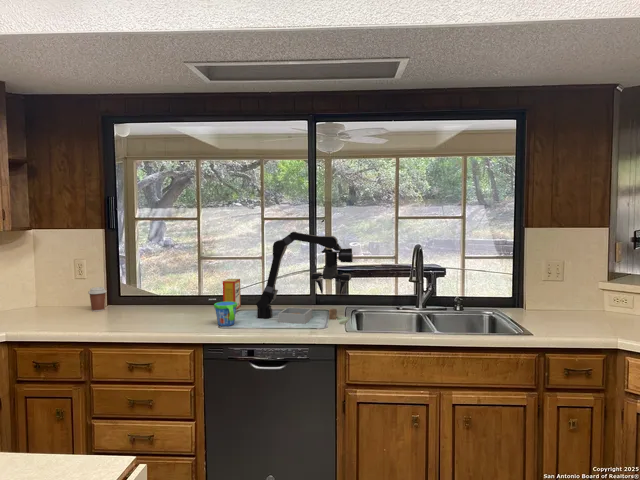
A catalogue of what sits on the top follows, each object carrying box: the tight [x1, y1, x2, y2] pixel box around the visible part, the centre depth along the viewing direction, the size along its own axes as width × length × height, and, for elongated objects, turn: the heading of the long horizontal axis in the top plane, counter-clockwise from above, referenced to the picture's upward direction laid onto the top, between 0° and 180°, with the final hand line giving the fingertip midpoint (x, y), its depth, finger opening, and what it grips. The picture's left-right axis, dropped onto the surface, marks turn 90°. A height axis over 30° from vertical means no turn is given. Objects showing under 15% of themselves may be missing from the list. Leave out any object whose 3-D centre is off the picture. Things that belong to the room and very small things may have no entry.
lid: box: [328, 308, 351, 325], centre depth 228 cm, size 14×14×6 cm
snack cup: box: [213, 301, 237, 327], centre depth 220 cm, size 16×10×10 cm
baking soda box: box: [222, 278, 242, 310], centre depth 256 cm, size 10×6×16 cm
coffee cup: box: [87, 286, 108, 312], centre depth 253 cm, size 9×9×12 cm
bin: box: [278, 307, 313, 325], centre depth 226 cm, size 13×13×5 cm
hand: (331, 294), depth 227 cm, fingers open, 9 cm apart
